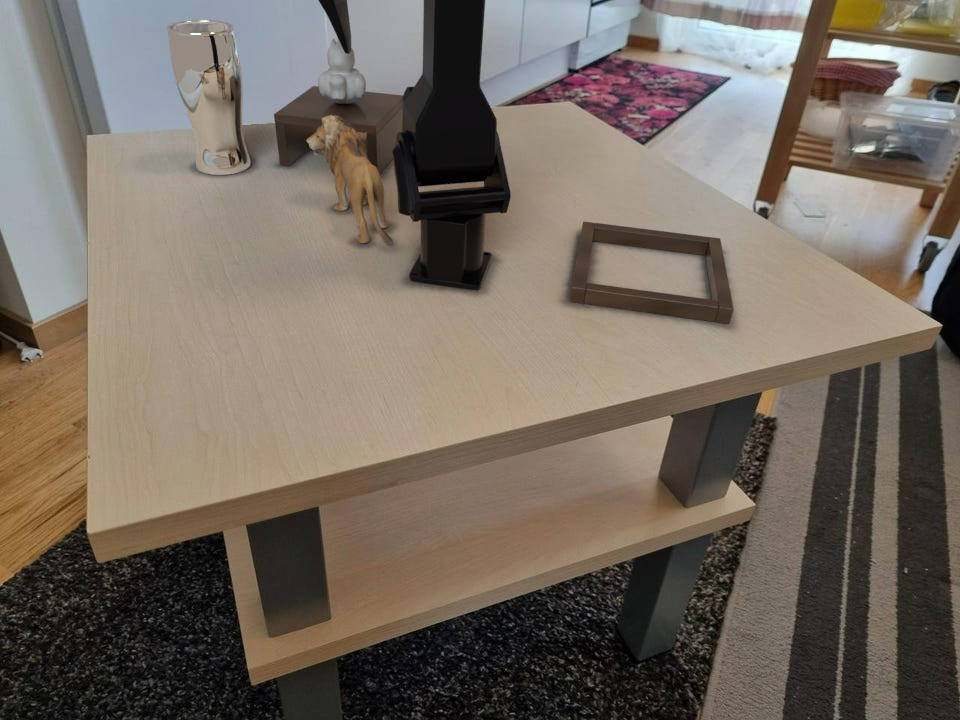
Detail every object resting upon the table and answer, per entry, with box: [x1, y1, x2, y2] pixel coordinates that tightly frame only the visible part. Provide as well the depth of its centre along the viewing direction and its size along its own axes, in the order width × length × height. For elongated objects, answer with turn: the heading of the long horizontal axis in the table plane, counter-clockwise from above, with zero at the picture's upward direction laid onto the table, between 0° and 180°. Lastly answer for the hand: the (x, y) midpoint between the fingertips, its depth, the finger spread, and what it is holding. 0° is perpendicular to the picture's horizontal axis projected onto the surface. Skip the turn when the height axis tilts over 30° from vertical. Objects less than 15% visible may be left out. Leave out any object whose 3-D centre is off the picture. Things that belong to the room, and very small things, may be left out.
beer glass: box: [166, 19, 252, 176], centre depth 79 cm, size 7×7×15 cm
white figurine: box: [317, 38, 367, 104], centre depth 82 cm, size 5×7×8 cm
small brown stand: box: [273, 85, 404, 175], centre depth 86 cm, size 12×12×6 cm
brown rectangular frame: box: [569, 221, 734, 325], centre depth 66 cm, size 14×14×2 cm
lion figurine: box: [306, 115, 394, 244], centre depth 71 cm, size 15×5×9 cm, turn 33°
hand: (388, 56), depth 77 cm, fingers open, 9 cm apart
